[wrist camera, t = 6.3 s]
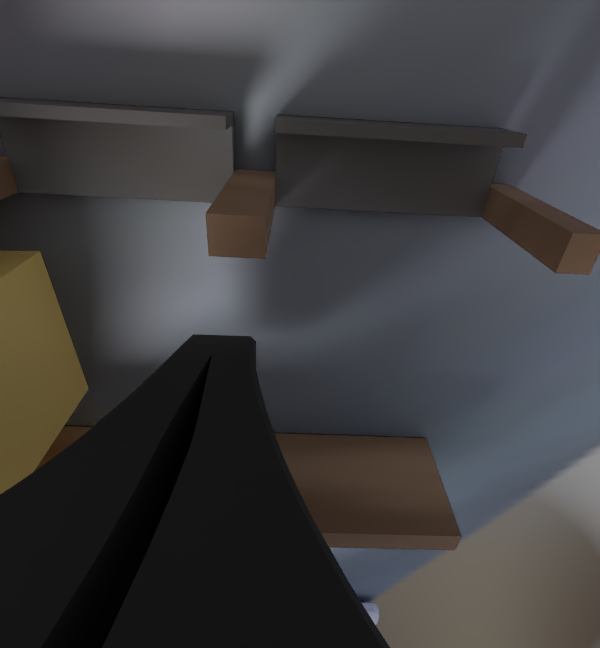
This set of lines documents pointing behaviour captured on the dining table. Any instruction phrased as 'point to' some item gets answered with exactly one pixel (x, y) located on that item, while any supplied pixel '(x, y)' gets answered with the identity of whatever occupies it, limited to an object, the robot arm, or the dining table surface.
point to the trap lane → (253, 237)
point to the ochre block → (32, 366)
